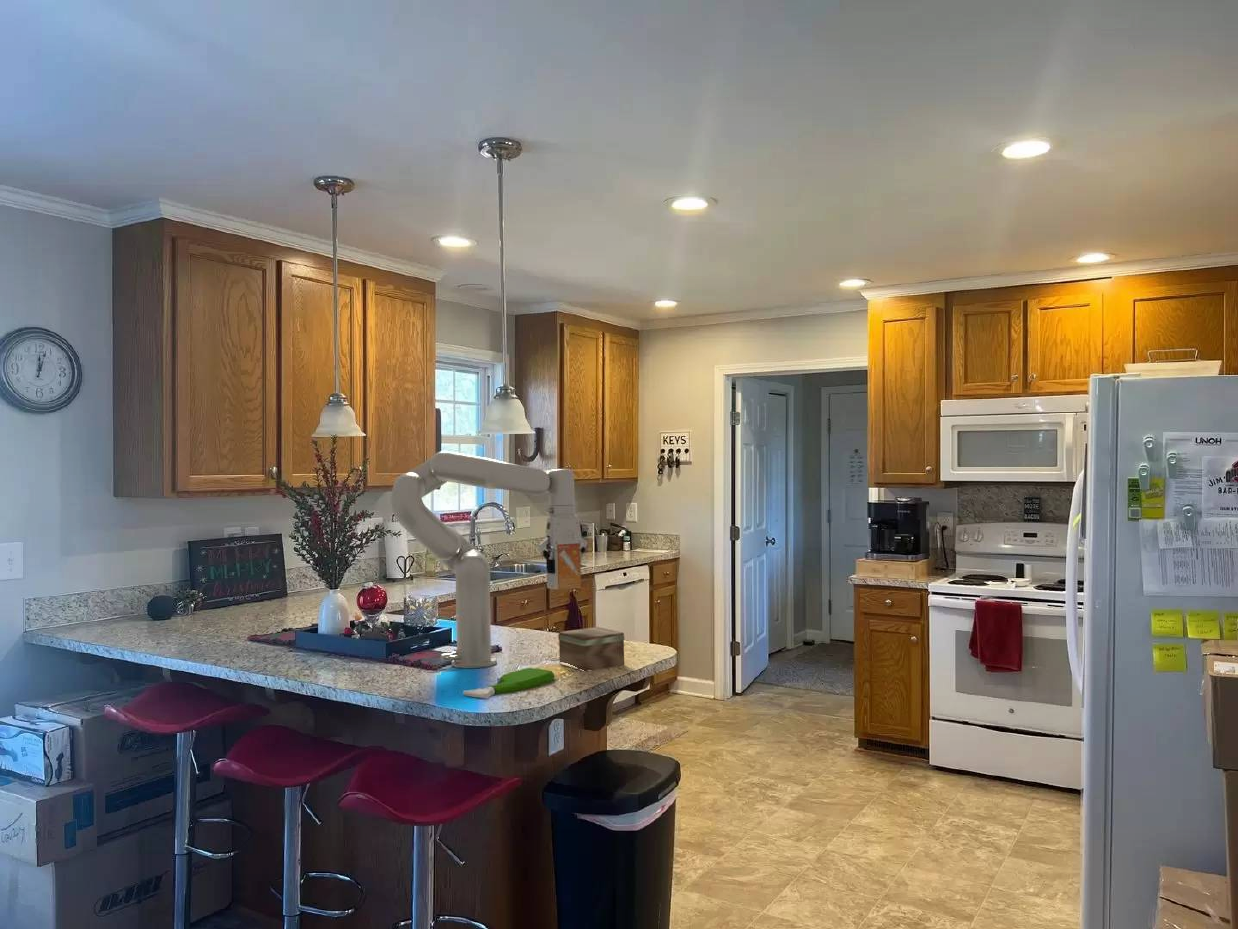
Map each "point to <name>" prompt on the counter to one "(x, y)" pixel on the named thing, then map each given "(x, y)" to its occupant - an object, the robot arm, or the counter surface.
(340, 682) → the counter surface
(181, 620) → the counter surface
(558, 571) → the small box
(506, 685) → the green and white oblong
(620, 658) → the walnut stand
